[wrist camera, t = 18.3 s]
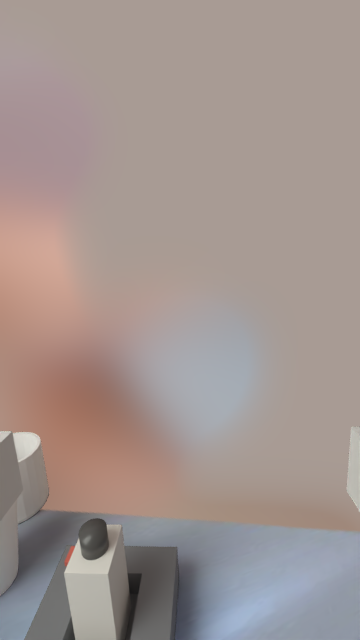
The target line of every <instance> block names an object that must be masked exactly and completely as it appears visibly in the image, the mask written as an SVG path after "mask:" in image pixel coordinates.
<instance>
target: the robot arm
mask: <svg viewBox="0 0 360 640" xmlns="http://www.w3.org/2000/svg"><path fill="white" fill-rule="evenodd" d="M22 491H23V485H22V480H21V475H20V470H19V464H18V459H17V454H16V449H15V443H14V438H13V433H12V431H6V432H5V431H4V432H3V431H1V432H0V521H1V520H2V518H3V517H4V516H5V514H6V513H7V512H8V510H9V509H10V508H11V506H12V505H13V504H14V502H15V501H16V499H17V498H18V497H19V495H20V494H21V493H22ZM347 492H348V494H349V495H350V497H351V499H352V500H353V502H354V503H355V505H356V507H357V508H358V510H359V511H360V427H351V437H350V450H349V465H348V479H347Z"/></svg>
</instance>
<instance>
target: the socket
mask: <svg viewBox="0 0 360 640" xmlns="http://www.w3.org/2000/svg"><path fill="white" fill-rule="evenodd" d="M74 548H75V546H71V545H67V546H66V549H65V551H64V553H63V555H62V557H61V560H60V562H59V564H58V566H57V568H56V571H55V573H54V575H53V577H52V579H51V582H50V584H49V586H48V588H47V591H46V593H45V595H44V597H43V599H42V602H41V604H40V606H39V608H38V610H37V613H36V615H35V617H34V619H33V621H32V624H31V626H30V628H29V630H28V632H27V635H26V637H25V639H24V640H75V635H74V629H73V623H72V617H71V611H70V605H69V600H68V594H67V588H66V582H65V576H64V572H65V570H66V567H67V565H68V563H69V560H70V558H71V556H72V553H73V551H74ZM124 548H125V557H126V565H127V574H128V583H129V592H130V600H131V610H130V615H129V621H128V626H127V631H126V636H125V640H175V631H176V615H177V599H178V584H179V569H178V555H177V547H138V546H124Z"/></svg>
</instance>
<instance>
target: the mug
mask: <svg viewBox="0 0 360 640" xmlns="http://www.w3.org/2000/svg"><path fill="white" fill-rule="evenodd" d="M13 438H14V443H15V449H16V454H17V459H18V464H19V470H20V475H21V480H22V485H23V491H22V493H21V494H20V495H19V497H18V498H17V522H18V524H20V523H22V522H24V521H26V520H27V519H29V518H30V517H32V516H33V515H35V514H36V513H37V512H38V511H39V510H40V509H41V508H42V507H43V505H44V504H45V502H46V501H47V498H48V496H49V488H48V481H47V475H46V470H45V464H44V458H43V452H42V446H41V441H40V438H39V436H38V435H36V434H34V433H30V432H19V433H13Z"/></svg>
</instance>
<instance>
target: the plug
mask: <svg viewBox="0 0 360 640" xmlns="http://www.w3.org/2000/svg"><path fill="white" fill-rule="evenodd" d="M64 576H65V582H66V588H67V594H68V600H69V605H70V611H71V617H72V623H73V629H74V635H75V640H125V636H126V631H127V626H128V621H129V615H130V610H131V600H130V592H129V583H128V574H127V565H126V557H125V548H124V539H123V530H122V525H106V522H105V521H104V520H102V519H98V518H97V519H91V520H89V521H87V522H86V523H84V524H83V525H82V527H81V528H80V530H79V539H78V541H77V544H76V546H75V548H74V551H73V553H72V556H71V558H70V560H69V563H68V565H67V567H66V570H65V572H64Z"/></svg>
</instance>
